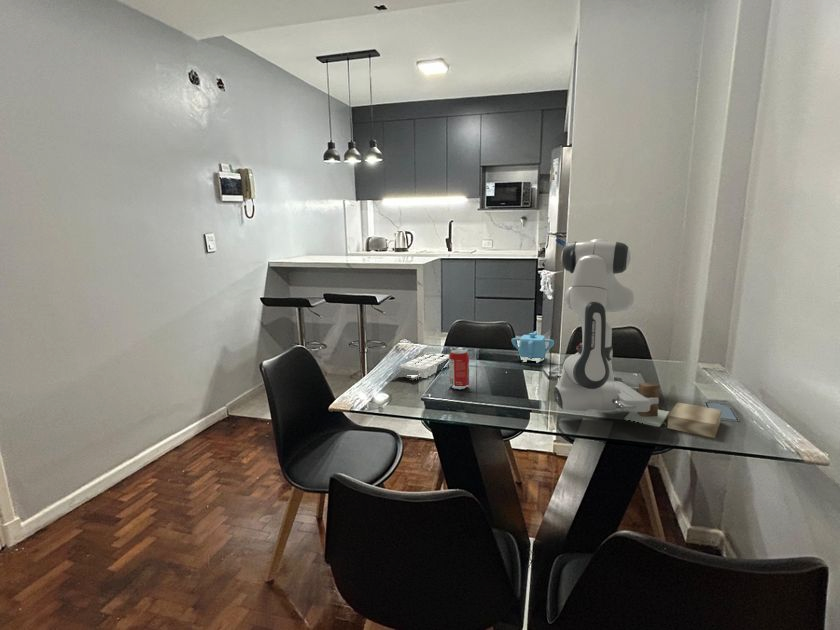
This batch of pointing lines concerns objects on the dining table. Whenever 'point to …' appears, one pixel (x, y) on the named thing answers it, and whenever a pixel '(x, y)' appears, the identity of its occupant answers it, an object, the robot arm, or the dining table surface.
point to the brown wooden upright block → (648, 392)
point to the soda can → (459, 368)
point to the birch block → (695, 419)
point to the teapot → (532, 345)
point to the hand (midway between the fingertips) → (649, 395)
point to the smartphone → (723, 411)
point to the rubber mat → (648, 418)
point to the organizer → (424, 363)
